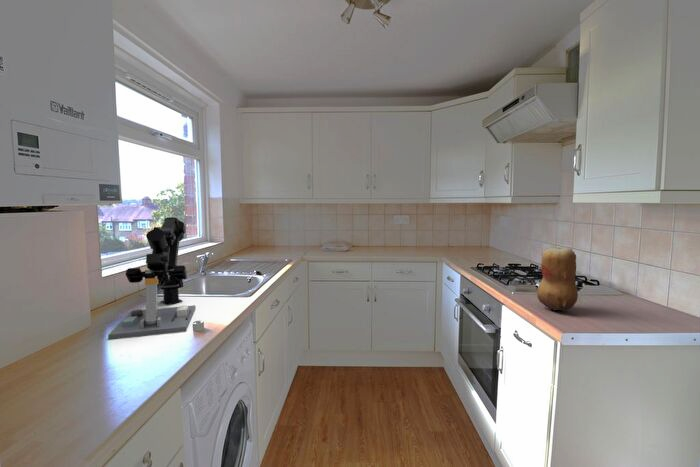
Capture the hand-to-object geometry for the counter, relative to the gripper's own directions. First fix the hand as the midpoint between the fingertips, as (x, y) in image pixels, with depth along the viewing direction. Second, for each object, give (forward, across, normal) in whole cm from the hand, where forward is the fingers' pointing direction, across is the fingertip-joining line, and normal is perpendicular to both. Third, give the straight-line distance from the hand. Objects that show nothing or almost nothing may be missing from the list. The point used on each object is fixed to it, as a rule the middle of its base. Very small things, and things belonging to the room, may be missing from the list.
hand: (154, 294), depth 117 cm
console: (+6, 0, +9) cm, 11 cm away
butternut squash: (+30, +146, -15) cm, 150 cm away
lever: (+10, 0, +1) cm, 10 cm away
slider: (+5, +8, +8) cm, 12 cm away
